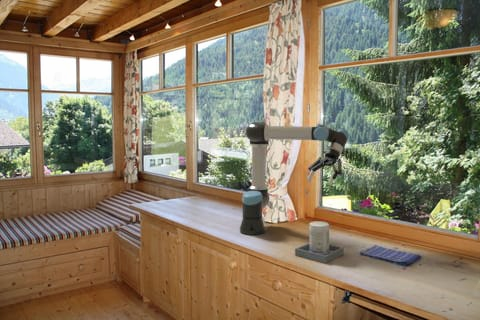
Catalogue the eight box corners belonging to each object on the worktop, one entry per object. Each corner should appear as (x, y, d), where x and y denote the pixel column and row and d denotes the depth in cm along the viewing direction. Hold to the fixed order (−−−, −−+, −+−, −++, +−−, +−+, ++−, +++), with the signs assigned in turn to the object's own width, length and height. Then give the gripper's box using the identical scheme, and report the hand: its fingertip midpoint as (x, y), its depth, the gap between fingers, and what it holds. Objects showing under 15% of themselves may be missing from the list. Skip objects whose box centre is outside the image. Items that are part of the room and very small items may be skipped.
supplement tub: (320, 248, 199) (320, 220, 198) (333, 253, 191) (333, 224, 190) (305, 251, 195) (305, 222, 193) (318, 257, 186) (318, 227, 185)
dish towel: (407, 268, 175) (407, 262, 175) (358, 255, 192) (358, 250, 192) (422, 258, 187) (422, 253, 186) (375, 247, 204) (375, 242, 203)
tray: (295, 255, 192) (295, 248, 192) (314, 246, 205) (314, 240, 204) (325, 263, 181) (325, 256, 180) (343, 254, 193) (343, 247, 193)
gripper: (356, 158, 215) (341, 188, 206) (317, 155, 233) (302, 183, 224) (351, 149, 211) (336, 180, 202) (312, 147, 228) (297, 175, 219)
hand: (318, 182), depth 213 cm, fingers open, 13 cm apart
